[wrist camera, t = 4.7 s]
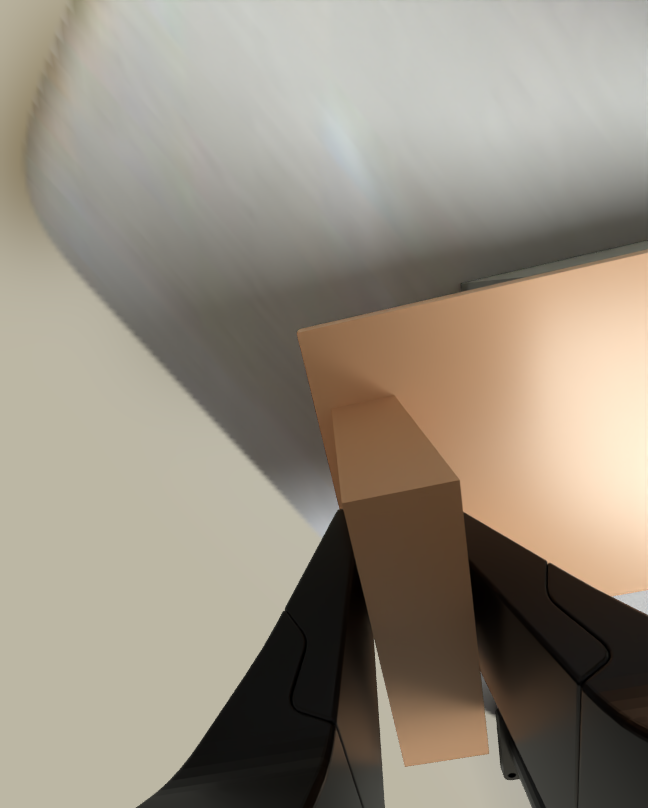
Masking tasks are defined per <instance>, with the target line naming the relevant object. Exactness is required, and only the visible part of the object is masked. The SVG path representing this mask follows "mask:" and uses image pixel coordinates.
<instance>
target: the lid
mask: <svg viewBox="0 0 648 808" xmlns="http://www.w3.org/2000/svg"><path fill="white" fill-rule="evenodd" d="M297 337H298V341H299V345H300V349H301V353H302V357H303V361H304V365H305V369H306V374H307V378H308V382H309V386H310V390H311V394H312V398H313V402H314V406H315V410H316V415H317V419H318V423H319V427H320V431H321V435H322V439H323V443H324V447H325V451H326V456H327V460H328V464H329V468H330V472H331V476H332V480H333V484H334V488H335V493H336V497H337V501H338V505H339V509H343V510H344V514H345V519H346V523H347V527H348V531H349V535H350V539H351V544H352V548H353V552H354V556H355V560H356V564H357V569H358V573H359V577H360V581H361V585H362V589H363V594H364V598H365V602H366V606H367V610H368V615H369V619H370V623H371V627H372V631H373V636H374V640H375V643H376V648H377V652H378V656H379V660H380V664H381V669H382V673H383V677H384V681H385V685H386V690H387V693H388V698H389V702H390V706H391V710H392V714H393V719H394V723H395V727H396V731H397V735H398V739H399V743H400V748H401V752H402V756H403V760H404V764H405V767H407V766H412V765H420V764H426V763H433V762H439V761H446V760H452V759H459V758H465V757H472V756H478V755H485V754H489V747H488V738H487V729H486V720H485V710H484V701H483V692H482V682H481V673H480V664H479V654H478V645H477V636H476V626H475V617H474V608H473V598H472V589H471V580H470V571H469V561H468V552H467V543H466V533H465V524H464V515H463V512H465V513H467V514H468V515H470V516H472V517H473V518H475V519H477V520H478V521H480V522H482V523H484V524H485V525H487V526H489V527H490V528H492V529H494V530H496V531H497V532H499V533H501V534H502V535H504V536H506V537H507V538H509V539H511V540H513V541H514V542H516V543H518V544H519V545H521V546H523V547H525V548H526V549H528V550H530V551H531V552H533V553H535V554H536V555H538V556H540V557H542V558H543V559H545V560H546V561H547V562H548V563H552V564H554V565H555V566H557V567H559V568H561V569H562V570H564V571H566V572H567V573H569V574H571V575H573V576H574V577H576V578H578V579H580V580H582V581H583V582H585V583H587V584H589V585H591V586H592V587H594V588H596V589H598V590H600V591H602V592H604V593H605V594H607V595H609V596H616V595H622V594H628V593H634V592H639V591H645V590H648V249H646V250H642V251H638V252H633V253H629V254H625V255H620V256H616V257H611V258H607V259H603V260H598V261H594V262H590V263H585V264H581V265H577V266H572V267H568V268H564V269H559V270H555V271H550V272H546V273H542V274H537V275H533V276H529V277H524V278H520V279H516V280H511V281H507V282H502V283H498V284H494V285H489V286H485V287H481V288H476V289H472V290H468V291H463V292H459V293H455V294H450V295H446V296H441V297H437V298H433V299H428V300H424V301H420V302H415V303H411V304H407V305H402V306H398V307H393V308H389V309H385V310H380V311H376V312H372V313H367V314H363V315H359V316H354V317H350V318H346V319H341V320H337V321H332V322H328V323H324V324H319V325H315V326H311V327H306V328H302V329H299V330H298V332H297Z"/></svg>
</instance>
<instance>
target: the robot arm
mask: <svg viewBox="0 0 648 808" xmlns="http://www.w3.org/2000/svg"><path fill="white" fill-rule="evenodd" d="M463 515H464V524H465V533H466V543H467V552H468V561H469V571H470V580H471V589H472V598H473V608H474V617H475V626H476V636H477V645H478V654H479V664H480V671H481V673H482V675H483V677H484V680H485V682H486V684H487V686H488V688H489V690H490V692H491V694H492V696H493V698H494V700H495V702H496V704H497V707H498V708H497V710H496V721H497V733H498V744H499V755H500V765H501V770H502V772H503V775H504V778H505V779H507V780H515V779H520V780H521V782H522V785H523V787H524V789H525V792H526V794H527V797H528V799H529V801H530V804H531V806H532V808H648V615H647V614H645V613H643V612H641V611H639V610H637V609H635V608H633V607H631V606H629V605H627V604H625V603H623V602H621V601H619V600H617V599H615V598H613V597H611V596H609V595H607V594H605V593H604V592H602V591H600V590H598V589H596V588H594V587H592V586H591V585H589V584H587V583H585V582H583V581H582V580H580V579H578V578H576V577H574V576H573V575H571V574H569V573H567V572H566V571H564V570H562V569H561V568H559V567H557V566H555V565H554V564H552V563H548V562H547V561H546V560H545V559H543V558H542V557H540V556H538V555H536V554H535V553H533V552H531V551H530V550H528V549H526V548H525V547H523V546H521V545H519V544H518V543H516V542H514V541H513V540H511V539H509V538H507V537H506V536H504V535H502V534H501V533H499V532H497V531H496V530H494V529H492V528H490V527H489V526H487V525H485V524H484V523H482V522H480V521H478V520H477V519H475V518H473V517H472V516H470V515H468V514H467V513H465V512H463ZM136 808H385V804H384V790H383V773H382V759H381V744H380V728H379V712H378V697H377V682H376V667H375V652H374V636H373V631H372V627H371V623H370V619H369V615H368V610H367V606H366V602H365V598H364V594H363V589H362V585H361V581H360V577H359V573H358V569H357V564H356V560H355V556H354V552H353V548H352V544H351V539H350V535H349V531H348V527H347V523H346V519H345V514H344V510H343V509H340V510H338V511H337V512H336V514H335V516H334V518H333V519H332V521H331V523H330V525H329V527H328V529H327V531H326V532H325V534H324V536H323V538H322V540H321V542H320V544H319V546H318V547H317V549H316V551H315V553H314V555H313V557H312V559H311V560H310V562H309V564H308V566H307V568H306V570H305V572H304V574H303V575H302V577H301V579H300V581H299V583H298V585H297V587H296V588H295V590H294V592H293V594H292V596H291V598H290V600H289V602H288V603H287V605H286V607H285V611H283V612H282V614H281V616H280V618H279V620H278V622H277V624H276V626H275V627H274V629H273V631H272V632H271V634H270V636H269V638H268V640H267V641H266V643H265V645H264V647H263V648H262V650H261V652H260V653H259V655H258V656H257V658H256V659H255V661H254V662H253V664H252V665H251V667H250V669H249V670H248V672H247V673H246V675H245V676H244V678H243V679H242V681H241V682H240V684H239V685H238V687H237V688H236V690H235V691H234V693H233V694H232V696H231V697H230V699H229V700H228V702H227V703H226V705H225V706H224V708H223V709H222V710H221V712H220V713H219V715H218V717H217V718H216V719H215V721H214V723H213V724H212V725H211V727H210V728H209V730H208V731H207V733H206V734H205V736H204V737H203V739H202V740H201V742H200V744H199V745H198V746H197V747H196V749H195V750H194V752H193V753H192V755H191V756H190V757H189V758H188V760H187V761H186V762H185V763H184V765H183V766H182V767H181V768H180V770H179V771H178V772H177V773H176V774H175V775H174V776H173V777H172V778H171V779H170V780H169V781H168V782H167V784H165V785H164V786H163V787H162V788H161V789H160V790H159V791H158V792H156V793H155V794H154V795H153V796H151V797H150V798H149V799H147V800H146V801H145V802H143V803H142V804H140V805H139V806H138V807H136Z"/></svg>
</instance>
